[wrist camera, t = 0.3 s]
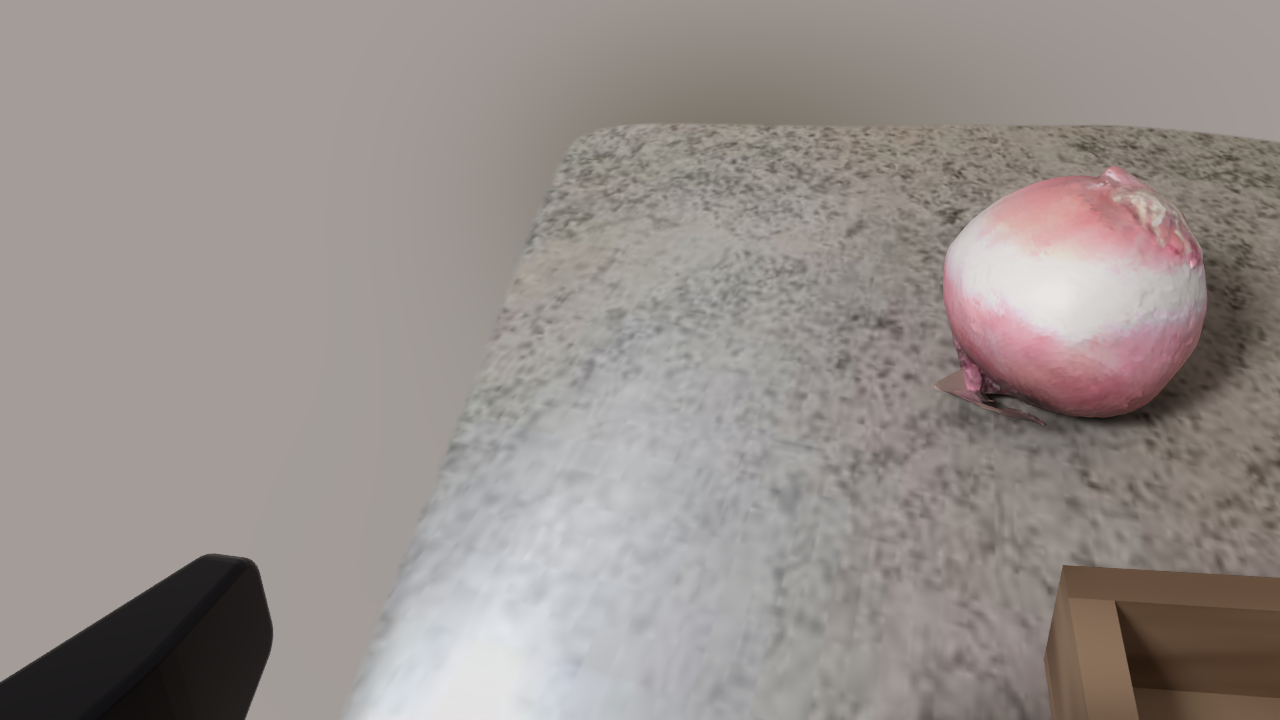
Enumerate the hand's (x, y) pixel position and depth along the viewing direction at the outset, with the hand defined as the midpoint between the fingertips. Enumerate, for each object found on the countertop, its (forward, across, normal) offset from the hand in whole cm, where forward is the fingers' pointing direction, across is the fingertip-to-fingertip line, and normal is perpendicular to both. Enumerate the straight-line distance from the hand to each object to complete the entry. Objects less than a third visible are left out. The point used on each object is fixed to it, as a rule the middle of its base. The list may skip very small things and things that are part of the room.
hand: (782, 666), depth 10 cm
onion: (+27, -7, +15) cm, 32 cm away
